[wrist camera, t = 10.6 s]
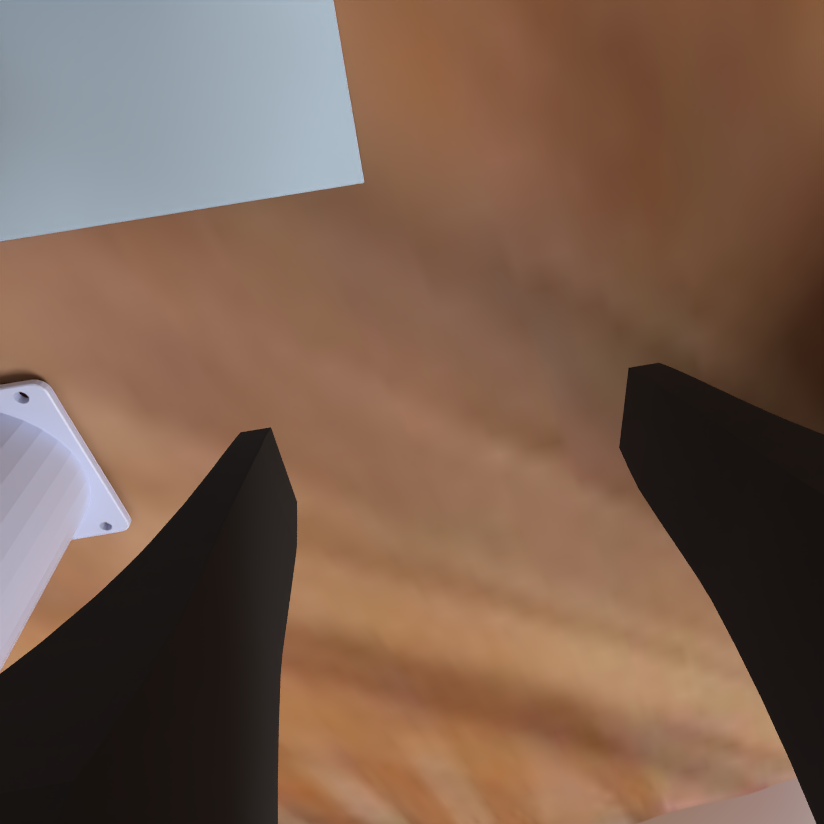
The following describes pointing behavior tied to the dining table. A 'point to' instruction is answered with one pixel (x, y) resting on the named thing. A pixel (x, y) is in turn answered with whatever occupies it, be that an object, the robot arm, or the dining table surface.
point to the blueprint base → (166, 108)
